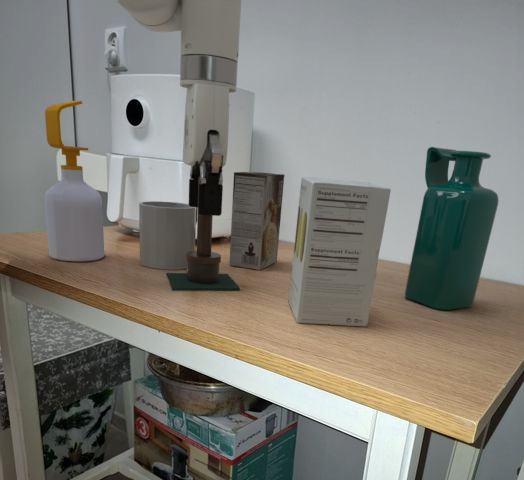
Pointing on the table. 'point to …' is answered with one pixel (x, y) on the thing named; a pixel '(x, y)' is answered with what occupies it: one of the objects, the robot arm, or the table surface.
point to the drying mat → (181, 283)
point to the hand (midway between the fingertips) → (204, 210)
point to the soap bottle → (71, 202)
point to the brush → (203, 254)
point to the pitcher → (451, 231)
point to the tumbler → (166, 234)
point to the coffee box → (255, 219)
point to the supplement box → (336, 250)
